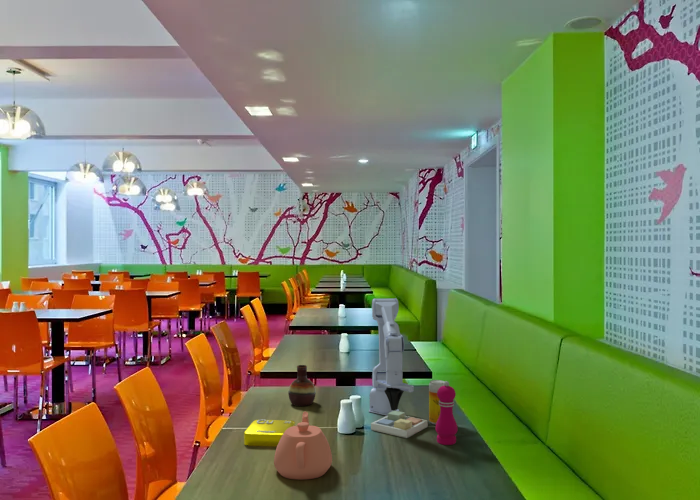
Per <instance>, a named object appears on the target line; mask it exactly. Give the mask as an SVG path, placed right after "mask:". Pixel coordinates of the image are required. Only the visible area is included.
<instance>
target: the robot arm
mask: <svg viewBox="0 0 700 500" xmlns="http://www.w3.org/2000/svg"><path fill="white" fill-rule="evenodd" d="M398 313H399V300H398V299H397V297H395V298H373V299H371V315H372V320H374V321H376V322H377V327H378V356H379V358H378V359H379V361H378V362H379V363H378V364H377V365H375V366H374V367H372V373H371V374H372V375H371V378H372V380H371V382H372V388H371V390H370V392H369V409H368V412H369V413H373V414H377V415H382V416H388V413H390V412H392V411H399V412H400V409H398V408H399V403H400V400H401V398H402V395H403V394H404V392H407V393H413V392H414V390H415V388H414V387H415V386H414V385H412V384H408V383H405V382H403V353H404V351H405V339H404V336H403V335H402V334H401V332H400V326H399V324H398V323H397V322H395V320H396V318H397V317H398Z"/></svg>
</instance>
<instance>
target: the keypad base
mask: <svg viewBox="0 0 700 500" xmlns="http://www.w3.org/2000/svg"><path fill="white" fill-rule="evenodd" d="M410 417H412V418H415V417H414V416H409V415H405V420H406V419H408V418H410ZM416 418H417V419H420V418H419V417H416ZM382 419H388V416H387V415H385V416H383V417H381V418H379V419H378V420H377V419H376V420H375V421H373V422H370V430H371V431H373V432H374V431H375V432H378V433H381V434H386V435H391V436H395V437H400V438H404V439H409V438H410V437H413V436H414V435H416V434H418V433H419V432H421V431H423V430H425V429H427V428H428V425H429V423H428V422H429V419H423V418H421V419H422V422H420V423H419V424H417V425H415V426H414V425H412V427H411V428H409V429H407V430H403V429H399V428H394V425H393V426H391V427H390V426H385V425H381V424H377V422H378V421H380V420H382Z"/></svg>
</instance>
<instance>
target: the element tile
mask: <svg viewBox="0 0 700 500" xmlns="http://www.w3.org/2000/svg"><path fill="white" fill-rule="evenodd" d="M292 426H296V421H295V420H291V419H290V420H285V419H282V420H281V419H264V418H263V419H262V418H261V419H254V420H253V421H252V422H251V423H250V424H249V425H248V426H247V428H246V429H245V430H244V432H243V445H245V446H247V445H248V446H247V447H249V446H251V447H275V446H276V448H277V445H278V443H279V441H280V439H281V437H282V435H283V434H284V432H285V431H286V430H287V429H288V428H290V427H292Z"/></svg>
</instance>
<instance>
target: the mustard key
mask: <svg viewBox="0 0 700 500" xmlns="http://www.w3.org/2000/svg"><path fill="white" fill-rule="evenodd" d="M411 427H412V421H409V420H405V419H399V420H397V421H395V422H394V428H399V429H403V430H407V429H409V428H411Z"/></svg>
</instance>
